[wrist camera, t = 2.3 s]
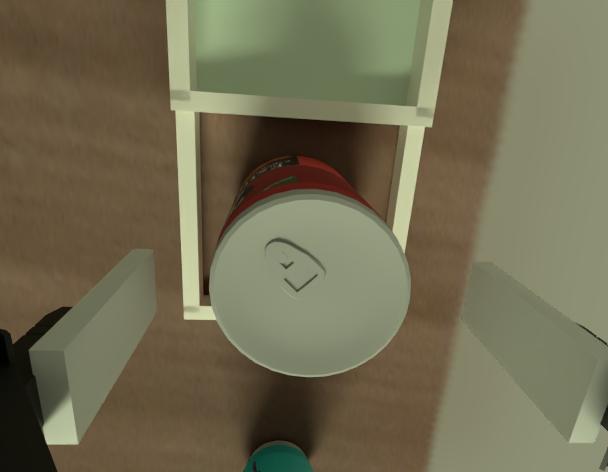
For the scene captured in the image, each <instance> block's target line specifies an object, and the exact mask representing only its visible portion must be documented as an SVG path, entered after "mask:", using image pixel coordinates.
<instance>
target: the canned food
mask: <svg viewBox="0 0 608 472" xmlns="http://www.w3.org/2000/svg"><path fill="white" fill-rule="evenodd" d="M410 289H411V278H410V273H409V267H408V262H407V260H406V257H405V255H404V252H403V250H402V247H401V245H400V244H399V242H398V239H397V238H396V236H395V235H394V233H393V232H392V231H391V229H390V228H389V226H388V225H387V223H386V222H385V221H384V220H383V219H382V218H381V216H380V215H379V214H378V213H377V212H376V211H375V210H374V209H373V208H372V207H371V206H370V205H369V204H368V203H367V202H366V201H365V200H364V199H363V198H362V197H361V196H360V195H359V194H358V193H357V192H356V190H355V189H354V188H353V187H352V186H351V185H350V184H349V183H348V182H347V181H346V180H345V179H344V178H343V177H342V176H341V175H340V174H339V173H338V172H337V171H336V170H335V169H333V168H332V167H330V166H328V165H327V164H325V163H324V162H321V161H319V160H316V159H314V158H310V157H305V156H283V157H279V158H274V159H272V160H270V161H268V162H265V163H263V164H262V165H260V166H259V167H258V168H256V169H255V170H254V171H252V172H251V174H250V175H249V176H248V177H247V178H246V179H245V180H244V182H243V184H242V186H241V188H240V189H239V191H238V194H237V196H236V198H235V201H234V203H233V205H232V208H231V210H230V213H229V215H228V217H227V220H226V222H225V224H224V227H223V229H222V231H221V234H220V236H219V240H218V243H217V245H216V248H215V252H214V255H213V258H212V262H211V268H210V280H209V293H210V299H211V306H212V309H213V312H214V314H215V317H216V320H217V322H218V324H219V326H220V327H221V329H222V331H223V332H224V334H225V335H226V337H227V338H228V340H229V341H230V342H231V343H232V344H233V345H234V346H235V347H236V348H237V349H238V350H239V351H240V352H241V353H242V354H244V355H245V356H247V357H248V358H250V359H251V360H252V361H254V362H255V363H257V364H259V365H261V366H264V367H266V368H268V369H270V370H272V371H276V372H279V373H283V374H286V375H291V376H301V377H320V376H329V375H333V374H338V373H342V372H345V371H347V370H350V369H352V368H355V367H357V366H360V365H361V364H363V363H364V362H366V361H368V360H369V359H371V358H372V357H374V356H375V355H376V354H378V353H379V352H380V351H381V350H382V349H383V348H384V347H385V346H386V345H387V344H388V343H389V342H390V341H391V339H392V338H393V337H394V335H395V334H396V333H397V331H398V330H399V328H400V326H401V324H402V322H403V320H404V318H405V316H406V312H407V308H408V304H409V300H410Z"/></svg>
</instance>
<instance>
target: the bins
mask: <svg viewBox="0 0 608 472" xmlns="http://www.w3.org/2000/svg"><path fill="white" fill-rule="evenodd" d="M452 3H453V0H166V14H167V36H168V58H169V80H170V102H171V110H176V133H177V157H178V181H179V205H180V230H181V254H182V278H183V302H184V319H196V320H216V317H215V314H214V312H213V309H212V306H211V299H210V295H204V293H203V249H202V204H201V159H200V114H199V112H208V113H223V114H238V115H254V116H269V117H284V118H299V119H315V120H330V121H345V122H360V123H375V124H391V125H400V127H399V134H398V141H397V148H396V156H395V163H394V170H393V177H392V184H391V191H390V198H389V205H388V212H387V219H386V223H387V225H388V226H389V228H390V229H391V231H392V232H393V233H394V235H395V236H396V238H397V239H398V242H399V244H400V245H401V247H402V250H403V252H404V253H405V247H406V241H407V234H408V228H409V222H410V216H411V210H412V203H413V197H414V191H415V185H416V179H417V172H418V166H419V160H420V154H421V148H422V142H423V135H424V129H425V127H432V123H433V117H434V111H435V105H436V99H437V93H438V87H439V81H440V75H441V69H442V63H443V57H444V51H445V45H446V39H447V33H448V27H449V21H450V15H451V9H452Z"/></svg>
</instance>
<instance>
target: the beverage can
mask: <svg viewBox="0 0 608 472" xmlns="http://www.w3.org/2000/svg"><path fill="white" fill-rule="evenodd" d="M243 472H313V469H312V467H311V465H310V463H309V461H308V459H307V457H306V456H305V454H304V452H303V451H302V450H301V449H300V448H299V447H298V446H296V445H295V444H293V443H291V442H287V441H271V442H268V443H265V444H263V445H262V446H260V447H259V448H257V449H256V450H255V451H254V452H253V454H252V455H251V457H250V459H249V461H248V463H247V465H246V467H245V469H244V471H243Z"/></svg>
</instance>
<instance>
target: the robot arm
mask: <svg viewBox="0 0 608 472" xmlns="http://www.w3.org/2000/svg"><path fill="white" fill-rule="evenodd" d="M156 313H157V297H156V281H155V265H154V249H133V250H132V251H131V252H130V253H128V254H127V255H126V256H125V257H124V258H123V259H122V260H121V261H120V262H119V263H118V264H117V265H116V266H115V267H114V268H113V269H112V270H111V271H110V272H109V273H108V274H107V275H106V276H105V277H104V278H103V279H102V280H101V281H100V282H98V283H97V284H96V285H95V286H94V287H93V288H92V289H91V290H90V291H89V292H88V293H87V294H86V295H85V296H84V297H83V298H82V299H81V300H80V301H79V302H78V303H77V304H76V305H75V306H74V307H61V308H59V309H57V310H55V311H53V312H51V313H49V314H47V315H46V316H45V317H44V318H42V319H41V320H40V321H39V322H38V323H37V324H36V325H35V327H32V328H31V329H30V330H29V331H28V332H27V333H26V335H23V336H22V337H21V338H20V339H19V340H18V341H17V342H15V343H14V344H12V339H11V334H10V333H9V332H8V331H6V330H3V329H0V472H57V469H56V467H55V464H54V462H53V459H52V456H51V454H50V451H49V448H48V446H47V444H79V442H80V440H81V439H82V437H83V435H84V434H85V432H86V430H87V429H88V427H89V425H90V424H91V422H92V420H93V419H94V417H95V415H96V414H97V412H98V410H99V409H100V407H101V405H102V404H103V402H104V400H105V399H106V397H107V395H108V393H109V392H110V390H111V388H112V387H113V385H114V383H115V382H116V380H117V378H118V377H119V375H120V373H121V372H122V370H123V368H124V367H125V365H126V363H127V362H128V360H129V358H130V357H131V355H132V353H133V352H134V350H135V348H136V347H137V345H138V343H139V342H140V340H141V338H142V336H143V335H144V333H145V331H146V330H147V328H148V326H149V325H150V323H151V321H152V320H153V318H154V316H155V315H156ZM461 320H462V321H463V322H464V323H465V324H466V325H467V326H468V328H469V329H470V330H471V331H472V332H473V333H474V335H475V336H476V337H477V338H478V339H479V340H480V341H481V343H482V344H483V345H484V346H485V347H486V348H487V349H488V351H489V352H490V353H491V354H492V355H493V356H494V358H495V359H496V360H497V361H498V362H499V363H500V365H501V366H502V367H503V368H504V369H505V370H506V371H507V373H508V374H509V375H510V376H511V377H512V378H513V379H514V381H515V382H516V383H517V384H518V385H519V386H520V387H521V388H522V390H523V391H524V392H525V393H526V394H527V395H528V397H529V398H530V399H531V400H532V401H533V402H534V404H535V405H536V406H537V407H538V408H539V409H540V411H541V412H542V413H543V414H544V415H545V416H546V418H547V419H548V420H549V421H550V422H551V423H552V424H553V425H554V427H555V428H556V429H557V430H558V431H559V432H560V434H561V435H562V436H563V437H564V438H565V439H566V441H567V442H568V443H594V442H595V439H596V437H597V434H598V432H599V429H600V426H601V425H602V426H603V427H604V428H605V429H606V430H607V431H608V345H607V343H606V342H604V341H603V340H602V339H600V338H598V337H596V335H594V334H593V333H592V332H590V331H589V330H588V329H586V328H585V327H583V326H581V325H579V324H577V323H575V322H573V321H572V320H570V319H569V318H568V317H566V316H565V315H563V314H562V313H561V312H559V311H558V310H557V309H555V308H554V307H553V306H551V305H550V304H548V303H547V302H546V301H544V300H543V299H541V298H540V297H539V296H537V295H536V294H535V293H533V292H532V291H530V290H529V289H528V288H526V287H525V286H523V285H522V284H521V283H519V282H518V281H517V280H515V279H513V278H512V277H511V276H510V275H508V274H507V273H505V272H504V271H503V270H501V269H500V268H499V267H497V266H496V265H494V264H493V263H492V262H478V261H474V262H473V266H472V271H471V275H470V280H469V284H468V289H467V294H466V298H465V303H464V307H463V312H462V316H461ZM42 426H43V430H44V435H45V438H44V435H43V433H42V430H41V428H42ZM606 466H608V448H607V451H606V453H605V455H604V458H603V460H602V463H601V465H600V468H599V469H601V470H605V468H606Z"/></svg>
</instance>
